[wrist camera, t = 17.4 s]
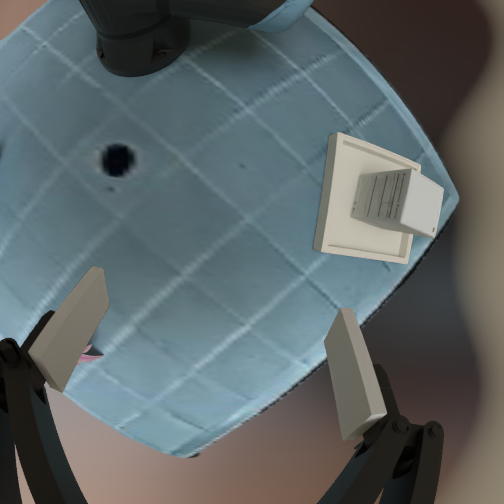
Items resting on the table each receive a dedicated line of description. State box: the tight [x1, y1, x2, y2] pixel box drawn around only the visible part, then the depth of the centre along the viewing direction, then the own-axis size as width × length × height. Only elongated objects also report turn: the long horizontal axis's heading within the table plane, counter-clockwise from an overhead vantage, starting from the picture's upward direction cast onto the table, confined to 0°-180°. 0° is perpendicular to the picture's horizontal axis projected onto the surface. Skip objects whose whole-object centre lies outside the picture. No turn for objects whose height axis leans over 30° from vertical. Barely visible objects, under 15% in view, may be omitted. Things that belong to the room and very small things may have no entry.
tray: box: [313, 132, 421, 264], centre depth 40 cm, size 18×18×3 cm
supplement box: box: [350, 168, 444, 238], centre depth 35 cm, size 7×7×13 cm
